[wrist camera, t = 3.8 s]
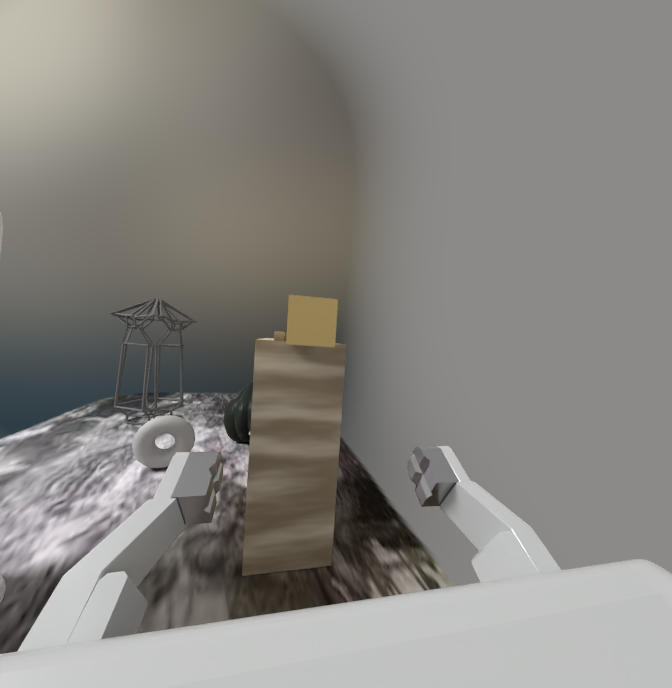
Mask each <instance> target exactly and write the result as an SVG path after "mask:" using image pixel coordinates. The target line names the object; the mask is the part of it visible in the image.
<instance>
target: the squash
mask: <svg viewBox="0 0 672 688" xmlns="http://www.w3.org/2000/svg"><path fill="white" fill-rule="evenodd" d="M252 395H253V382H251V383H250V384H248V385H247V386H245V388H243V389H242V390H240V391H239V392H238V393H237V394H236V395H235V396H234V397H233V398H232V399H231V401H230V402H229V404H228V406H227V409H226V411H225V415H224V425H225V429H226V432H227V434H228V436H229V437H230V438H231V439H232V440H234V441H237V442H248V441H249V440H250V435H249V432H250V429H251V412H252Z"/></svg>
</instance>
